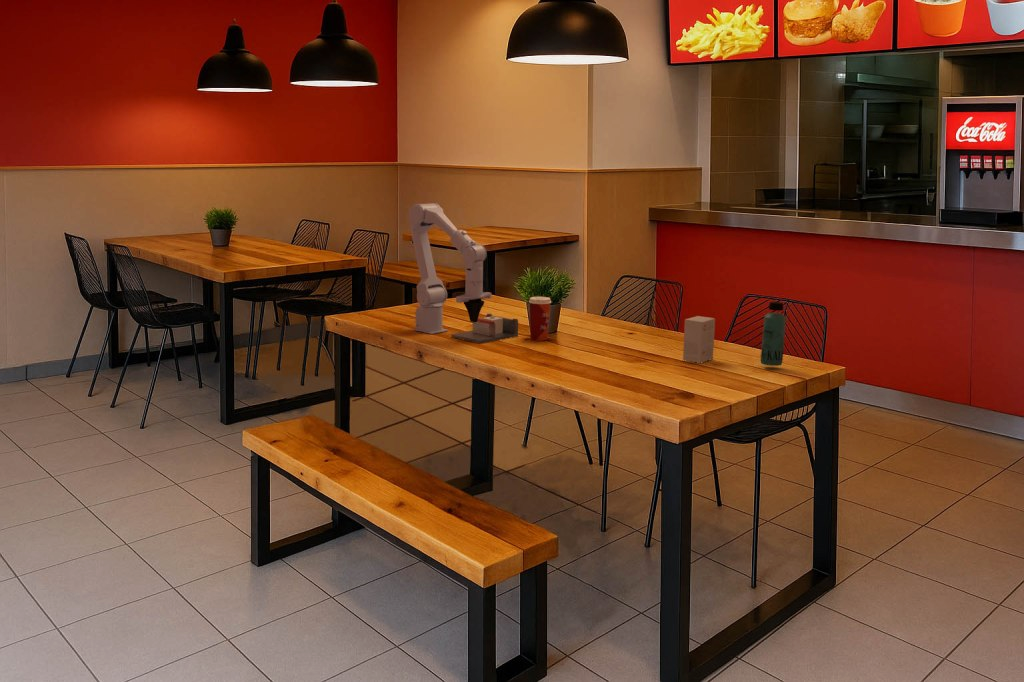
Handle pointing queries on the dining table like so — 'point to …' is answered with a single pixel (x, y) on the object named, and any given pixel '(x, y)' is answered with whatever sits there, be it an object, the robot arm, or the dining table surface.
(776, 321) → the beverage bottle
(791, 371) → the dining table surface
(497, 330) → the block
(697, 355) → the small box
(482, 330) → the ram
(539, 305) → the paper cup
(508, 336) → the press
